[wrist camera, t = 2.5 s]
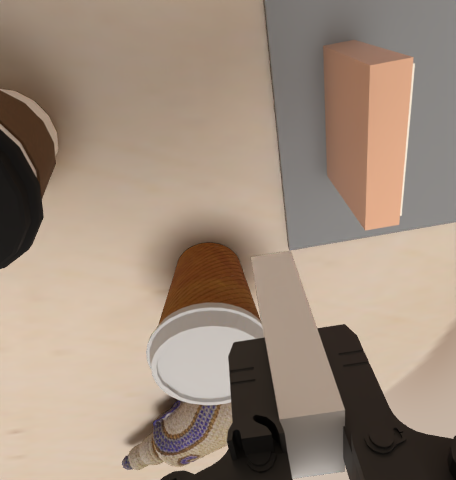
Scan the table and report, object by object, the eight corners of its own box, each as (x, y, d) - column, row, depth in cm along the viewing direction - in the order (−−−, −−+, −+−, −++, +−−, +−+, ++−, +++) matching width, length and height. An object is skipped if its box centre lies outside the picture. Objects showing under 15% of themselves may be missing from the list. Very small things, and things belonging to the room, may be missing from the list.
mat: (257, -67, 24) (258, -69, 24) (550, -128, 23) (558, -131, 23) (288, 247, 37) (289, 250, 36) (478, 214, 36) (482, 217, 36)
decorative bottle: (263, 338, 44) (273, 389, 38) (298, 370, 47) (311, 421, 42) (105, 429, 51) (93, 483, 46) (145, 451, 55) (139, 503, 49)
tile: (323, 45, 27) (370, 65, 20) (358, 38, 27) (419, 55, 19) (327, 175, 33) (365, 230, 25) (356, 170, 32) (403, 224, 25)
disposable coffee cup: (275, 254, 37) (303, 350, 27) (224, 317, 41) (231, 421, 31) (189, 210, 34) (184, 300, 24) (143, 283, 38) (122, 386, 28)
